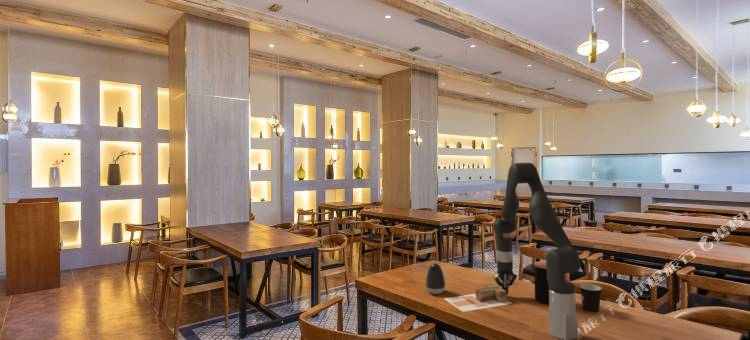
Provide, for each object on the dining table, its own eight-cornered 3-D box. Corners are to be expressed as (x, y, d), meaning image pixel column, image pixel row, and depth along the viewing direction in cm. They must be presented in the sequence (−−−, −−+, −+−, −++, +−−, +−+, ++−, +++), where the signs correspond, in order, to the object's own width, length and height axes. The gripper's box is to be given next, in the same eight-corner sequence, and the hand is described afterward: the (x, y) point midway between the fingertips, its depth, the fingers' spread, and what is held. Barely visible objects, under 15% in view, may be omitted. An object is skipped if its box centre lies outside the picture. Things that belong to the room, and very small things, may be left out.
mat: (513, 304, 183) (512, 303, 183) (462, 312, 175) (462, 311, 174) (490, 292, 200) (489, 291, 200) (443, 299, 192) (443, 298, 192)
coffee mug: (601, 314, 169) (601, 291, 169) (579, 310, 174) (579, 288, 173) (602, 305, 179) (602, 284, 179) (581, 302, 184) (580, 281, 183)
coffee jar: (561, 306, 180) (561, 267, 179) (537, 305, 182) (536, 266, 181) (555, 298, 190) (555, 261, 190) (532, 297, 192) (532, 260, 192)
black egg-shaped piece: (422, 294, 199) (422, 265, 199) (429, 288, 208) (429, 260, 208) (441, 297, 194) (441, 267, 194) (448, 291, 204) (447, 262, 203)
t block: (507, 301, 186) (506, 291, 186) (485, 305, 182) (485, 294, 182) (491, 293, 197) (491, 283, 197) (471, 296, 193) (471, 286, 193)
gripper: (498, 262, 186) (498, 298, 187) (521, 260, 191) (521, 295, 191) (488, 259, 193) (489, 293, 194) (511, 256, 198) (511, 290, 198)
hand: (505, 294), depth 192 cm, fingers closed
